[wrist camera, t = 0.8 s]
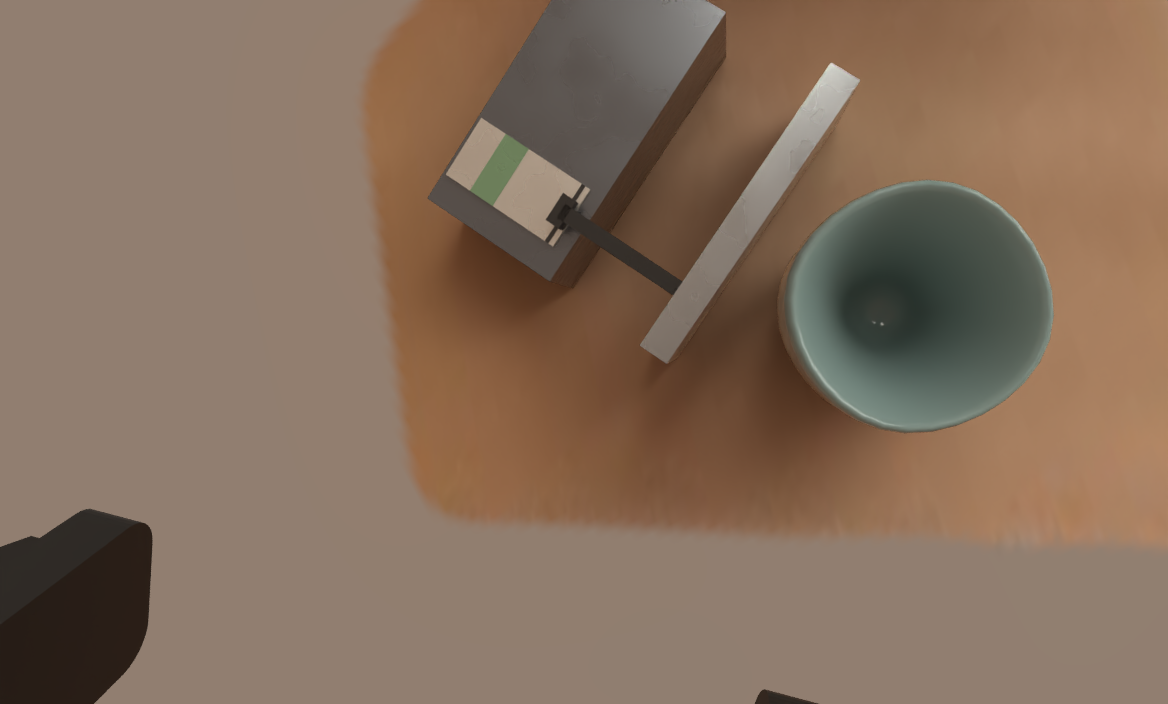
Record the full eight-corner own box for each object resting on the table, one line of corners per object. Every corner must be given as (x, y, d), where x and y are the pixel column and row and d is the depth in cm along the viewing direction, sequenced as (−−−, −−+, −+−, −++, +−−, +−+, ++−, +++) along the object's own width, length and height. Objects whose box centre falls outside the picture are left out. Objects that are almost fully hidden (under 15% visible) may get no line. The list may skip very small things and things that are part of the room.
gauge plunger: (702, 39, 36) (697, -19, 30) (837, 123, 35) (860, 80, 29) (549, 273, 37) (516, 261, 31) (676, 359, 36) (666, 364, 30)
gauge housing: (611, -14, 37) (593, -71, 32) (726, 56, 36) (725, 9, 31) (466, 216, 38) (425, 197, 33) (573, 288, 37) (548, 280, 32)
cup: (737, 282, 36) (741, 262, 26) (901, 187, 35) (970, 129, 25) (829, 439, 36) (868, 479, 26) (999, 348, 34) (1108, 354, 25)
